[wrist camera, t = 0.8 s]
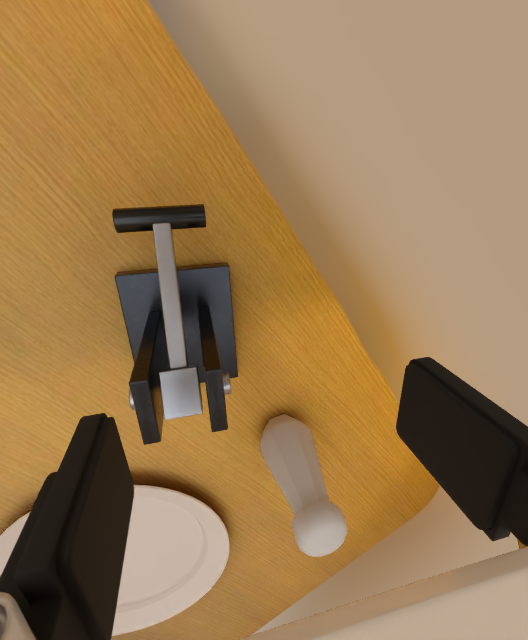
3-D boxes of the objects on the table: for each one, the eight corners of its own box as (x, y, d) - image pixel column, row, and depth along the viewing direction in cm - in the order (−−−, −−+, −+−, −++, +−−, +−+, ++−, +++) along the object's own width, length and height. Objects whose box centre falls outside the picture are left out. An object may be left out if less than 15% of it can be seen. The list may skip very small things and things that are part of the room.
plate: (267, 506, 41) (270, 521, 39) (160, 628, 45) (159, 646, 44) (61, 438, 31) (53, 454, 29) (-49, 604, 35) (-61, 626, 33)
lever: (119, 216, 21) (108, 201, 19) (203, 212, 22) (203, 196, 20) (142, 415, 21) (134, 425, 18) (227, 401, 22) (230, 408, 19)
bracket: (117, 272, 26) (70, 332, 15) (227, 262, 28) (253, 310, 17) (142, 385, 30) (119, 492, 20) (236, 370, 32) (261, 462, 21)
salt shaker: (306, 404, 36) (365, 510, 24) (304, 443, 38) (357, 558, 26) (255, 412, 35) (291, 528, 23) (256, 452, 37) (289, 576, 25)
